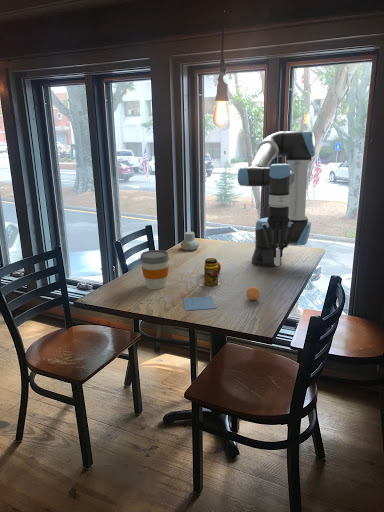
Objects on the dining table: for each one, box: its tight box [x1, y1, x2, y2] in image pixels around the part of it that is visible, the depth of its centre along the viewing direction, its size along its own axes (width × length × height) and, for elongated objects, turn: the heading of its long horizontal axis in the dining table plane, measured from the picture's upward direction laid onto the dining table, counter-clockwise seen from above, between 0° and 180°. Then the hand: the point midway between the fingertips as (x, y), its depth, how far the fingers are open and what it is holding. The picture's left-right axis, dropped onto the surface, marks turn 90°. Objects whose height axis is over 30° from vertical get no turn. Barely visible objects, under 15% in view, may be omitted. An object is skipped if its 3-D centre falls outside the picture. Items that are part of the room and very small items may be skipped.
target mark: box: [182, 295, 217, 312], centre depth 161 cm, size 12×12×1 cm
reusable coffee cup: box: [140, 249, 170, 290], centre depth 179 cm, size 13×13×15 cm
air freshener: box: [180, 231, 200, 251], centre depth 235 cm, size 11×8×10 cm
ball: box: [245, 286, 261, 301], centre depth 162 cm, size 6×6×6 cm
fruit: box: [217, 260, 222, 275], centre depth 192 cm, size 8×8×8 cm
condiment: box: [197, 257, 222, 289], centre depth 179 cm, size 7×8×12 cm
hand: (276, 264), depth 159 cm, fingers closed
